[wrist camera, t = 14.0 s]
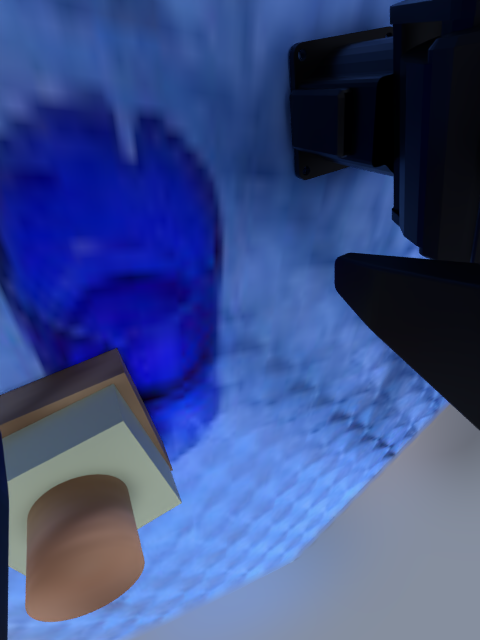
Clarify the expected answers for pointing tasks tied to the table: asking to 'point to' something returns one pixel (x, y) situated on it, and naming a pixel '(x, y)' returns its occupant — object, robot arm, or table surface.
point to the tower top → (84, 461)
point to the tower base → (74, 395)
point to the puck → (80, 548)
